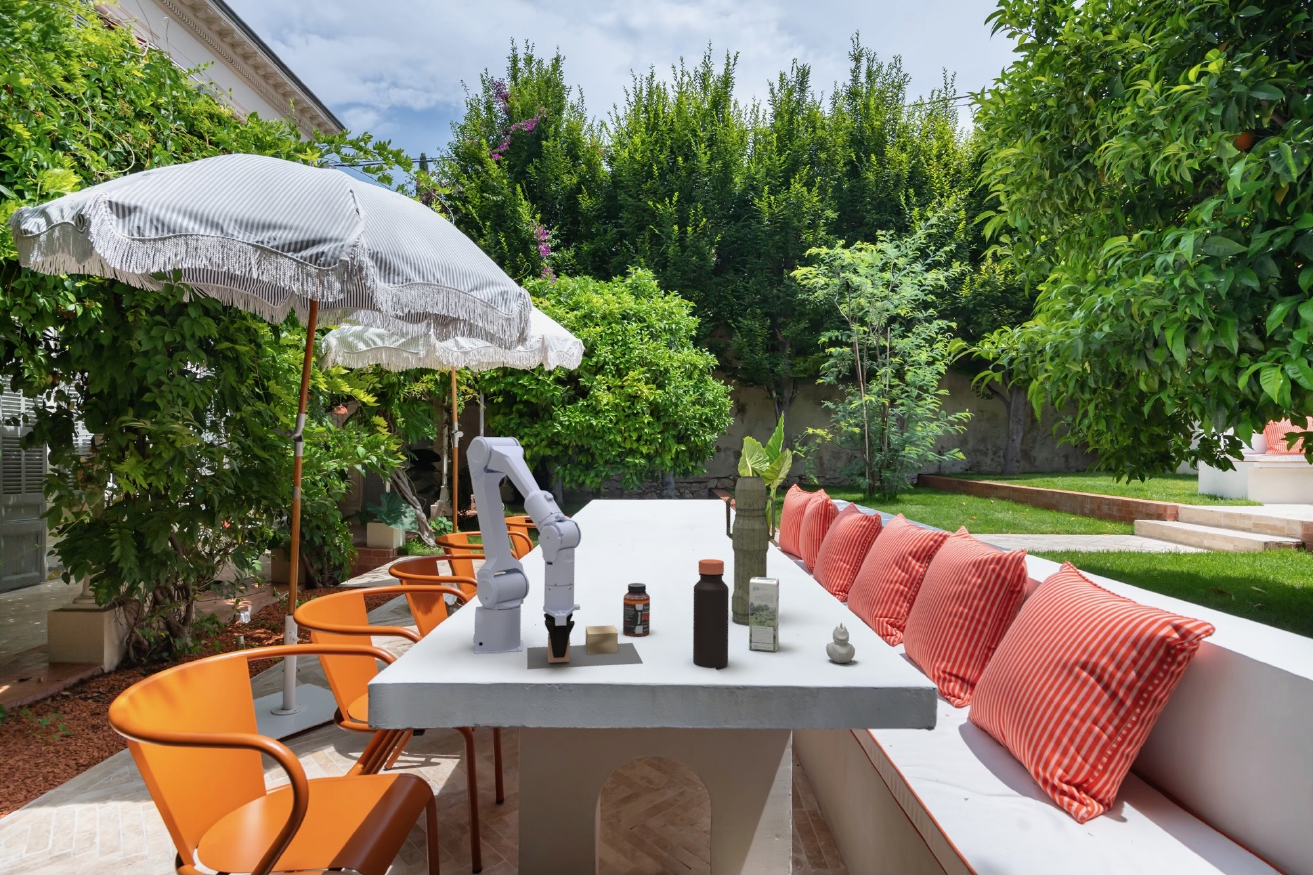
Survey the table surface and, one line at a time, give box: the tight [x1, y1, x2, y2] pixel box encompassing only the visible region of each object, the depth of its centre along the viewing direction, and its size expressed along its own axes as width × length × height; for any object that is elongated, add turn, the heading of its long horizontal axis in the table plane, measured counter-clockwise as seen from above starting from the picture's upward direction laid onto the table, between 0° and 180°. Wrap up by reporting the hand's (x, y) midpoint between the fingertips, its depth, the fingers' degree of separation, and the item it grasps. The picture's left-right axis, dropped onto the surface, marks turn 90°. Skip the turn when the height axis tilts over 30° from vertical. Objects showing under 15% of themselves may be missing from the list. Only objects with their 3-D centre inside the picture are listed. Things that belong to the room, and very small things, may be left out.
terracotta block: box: [547, 632, 571, 663], centre depth 136 cm, size 4×4×4 cm
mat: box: [526, 642, 644, 670], centre depth 140 cm, size 22×14×1 cm, turn 100°
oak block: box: [585, 625, 619, 654], centre depth 145 cm, size 6×6×4 cm
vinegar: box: [692, 558, 730, 670], centre depth 137 cm, size 7×7×20 cm
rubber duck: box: [825, 621, 856, 664], centre depth 139 cm, size 5×7×8 cm
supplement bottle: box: [622, 582, 651, 638], centre depth 157 cm, size 6×6×11 cm
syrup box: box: [748, 577, 780, 653], centre depth 148 cm, size 6×6×14 cm
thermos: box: [725, 475, 776, 627], centre depth 170 cm, size 9×12×35 cm
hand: (558, 653), depth 136 cm, fingers closed on terracotta block, 4 cm apart
